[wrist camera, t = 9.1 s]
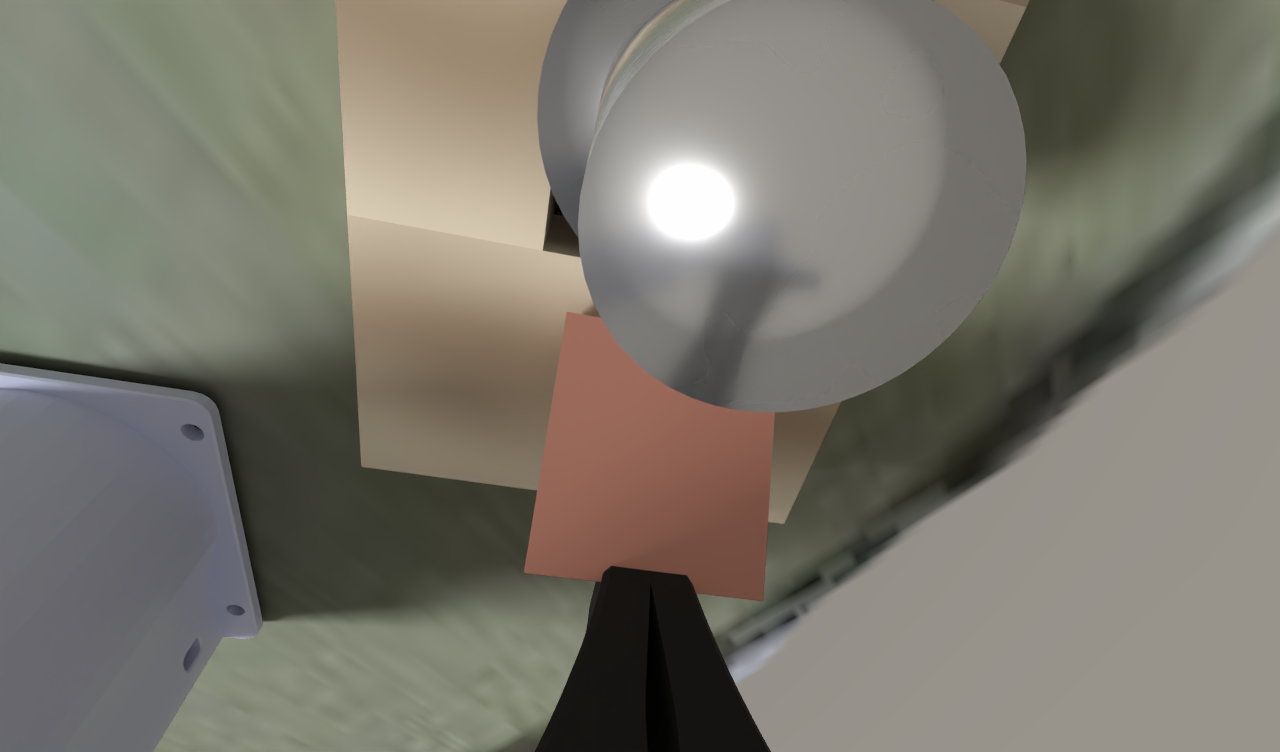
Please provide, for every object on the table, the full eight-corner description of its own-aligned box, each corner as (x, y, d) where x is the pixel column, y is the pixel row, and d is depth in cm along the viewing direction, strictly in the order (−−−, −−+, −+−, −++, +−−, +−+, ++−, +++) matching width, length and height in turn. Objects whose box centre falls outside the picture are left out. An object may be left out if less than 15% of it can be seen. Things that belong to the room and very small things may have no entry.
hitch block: (768, 468, 17) (783, 524, 15) (390, 413, 16) (361, 466, 14) (1022, -135, 10) (1103, -156, 8) (374, -323, 9) (313, -393, 7)
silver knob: (806, 270, 13) (944, 502, 8) (538, 222, 13) (462, 436, 7) (924, -48, 10) (1312, -71, 4) (577, -135, 10) (501, -301, 4)
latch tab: (747, 597, 11) (763, 601, 10) (524, 570, 11) (524, 572, 10) (764, 360, 12) (778, 348, 12) (564, 326, 12) (566, 311, 11)
